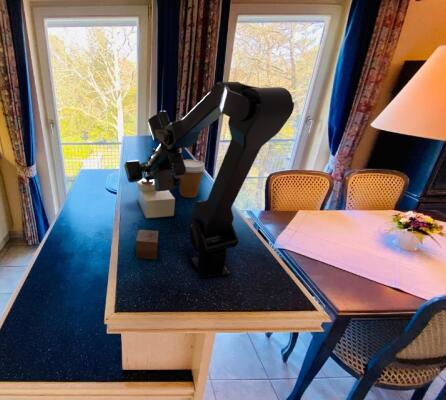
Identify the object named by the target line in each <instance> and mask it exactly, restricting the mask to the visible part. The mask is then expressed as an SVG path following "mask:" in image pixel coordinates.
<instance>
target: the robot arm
mask: <svg viewBox="0 0 446 400" xmlns="http://www.w3.org/2000/svg"><path fill="white" fill-rule="evenodd" d="M294 109H295V102H294V101H293V96H292V94H291V92H290V91H289V90H288V89H287V88H286V87H283V86H274V87H273V86H271V87H259V86H253V85H248V84H245V83H242V82H240V81H219V82H217V83H215V84H213V85H212V86H211V88H210V91H209V92H208V93H207V94H206V95H205V96H204V97H203V98H202V99H201V100H200V101H199V102H198V103H197V104H196V105H195V106H194V107H193V108H192V109H191V110H190V111H188V113H187V114H186V115H185V116H184V117H183V118H181V119H178V120H176V121H173V122H171V121H170V118H169V115H168V111H167V110H160V111H158V113H157V114H155V115H152V116H151V117H150V118H148V120H147V124H148V127H149V131H150V133H151V136H152V139H153V142H154V143H158V144H159V145H158V146H157V148H156V149H155V150H154V149H152V150H151V155H152V156H148V157H147V158H146V159H147V161H146V162H145V161H144V162H141V163H140V161H139V159H132V160H125V163H124V164H123V167H124V172H125V175H126V179H127V182H129V183H137V182H138V181H140V180H142V179H146V180H147V181H150V180H154V184H155V190H156V191H167V190H169V191H172V190H174V189H177V187H178V186H180V183H181V178H180V177H179V176H180V175H183V174H184V173H185V172H186V166H185V163H184V160H185V159H184V156H183V153H182V149H187V148H193V146H194V145H196V143H197V142H198V141H199V139H200V134H201V132H202V131H204V130H205V129H207V127H209V126H210V125H211V124H212V123H214V122H215V121H217V120H218V119H219V118H220V117H221V116H223V115H225V116H227V117H229V118H228V122H227V124H228V129H229V133H230V137H231V138H230V142H229V144H228V146H227V150H226V151H225V154H224V157H223V159H222V161H221V165H220V167H219V169H218V172H217V175H216V177H215V179H214V182H213V184H212V188H211V189H210V191H209V194H208V197H207V199H204V200H198V201H195V202H194V204H193V208H192V211H191V213H190V214H189V216H190V220H189V236H190V243H191V244H190V245H192V246H193V251H195V252H197V253H198V255H197V257H192V258H191V262H192V264H193V265H194V268H195V270H196V271H197V272H198V274H199V276H200V277H201V278H202V279H208V278H216V277H224V276H229V275H230V271H229V270H228V269H227V267H226V265H225V263H226V259H227V258H226V257H227V254H228V253H227V249H230V248H236V247H237V245H238V244H239V242H240V240H239V237H238V235H237V233H236V230H235V228H234V225H233V223H234V219H235V216H234V213H233V210H232V207H233V205H234V203H235V201H236V199H237V197H238V195H239V193H240V191H241V189H242V187H243V185H244V183H245V181H246V179H247V177H248V175H249V173H250V171H251V169H252V167H253V165H254V163H255V160H256V159H257V156H258V154H259V153H260V150H261V149H262V147H263V146H264V145H266V144H267V143H268V142H269V141H270V140H272V139H273V138H274V137H275V136H277V135H278V134H279V132H280V131H281V130H282V129H283V127H284V126H285V124H286V123H287V122H288V120H289V119H290V117H291V116H292V114H293V112H294Z"/></svg>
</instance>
